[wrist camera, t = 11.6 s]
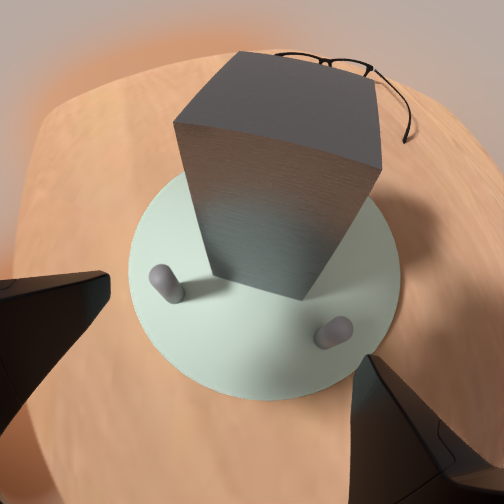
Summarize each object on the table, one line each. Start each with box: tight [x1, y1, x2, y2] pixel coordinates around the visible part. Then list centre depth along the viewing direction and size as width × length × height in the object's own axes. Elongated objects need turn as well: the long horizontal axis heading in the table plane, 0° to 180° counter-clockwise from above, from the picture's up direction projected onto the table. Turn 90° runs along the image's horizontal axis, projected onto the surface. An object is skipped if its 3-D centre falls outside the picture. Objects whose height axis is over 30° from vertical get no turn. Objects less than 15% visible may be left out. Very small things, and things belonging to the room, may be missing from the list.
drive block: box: [173, 51, 382, 301], centre depth 13 cm, size 6×6×12 cm
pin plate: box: [129, 171, 400, 401], centre depth 18 cm, size 20×20×4 cm
